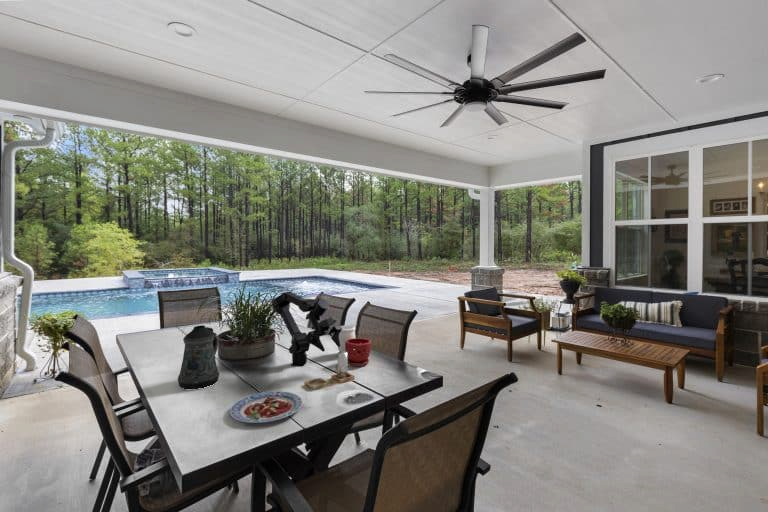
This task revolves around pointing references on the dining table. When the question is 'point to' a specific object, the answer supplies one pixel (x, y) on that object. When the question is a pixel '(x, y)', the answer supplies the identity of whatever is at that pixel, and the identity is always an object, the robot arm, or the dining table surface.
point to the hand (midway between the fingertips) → (332, 348)
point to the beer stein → (199, 359)
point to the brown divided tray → (326, 382)
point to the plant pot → (358, 351)
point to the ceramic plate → (266, 407)
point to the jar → (345, 336)
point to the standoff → (342, 365)
